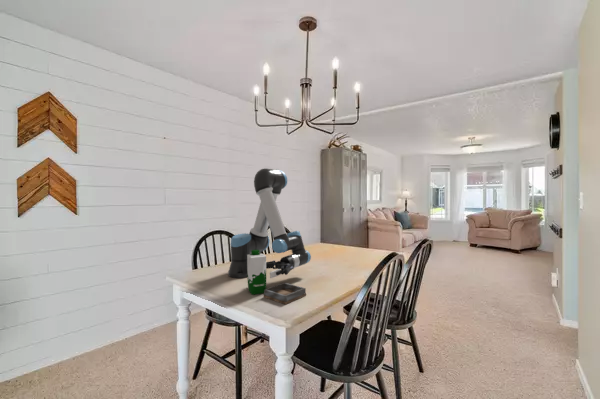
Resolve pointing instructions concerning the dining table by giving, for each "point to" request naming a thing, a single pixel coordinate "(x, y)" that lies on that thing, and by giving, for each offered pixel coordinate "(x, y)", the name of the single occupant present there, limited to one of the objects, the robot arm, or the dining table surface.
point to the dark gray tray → (285, 293)
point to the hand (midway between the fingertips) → (260, 272)
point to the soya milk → (256, 272)
